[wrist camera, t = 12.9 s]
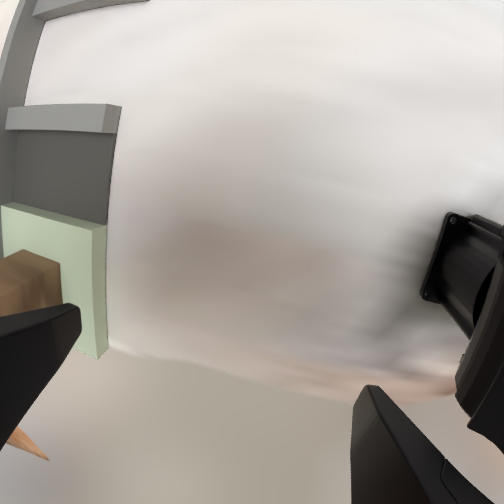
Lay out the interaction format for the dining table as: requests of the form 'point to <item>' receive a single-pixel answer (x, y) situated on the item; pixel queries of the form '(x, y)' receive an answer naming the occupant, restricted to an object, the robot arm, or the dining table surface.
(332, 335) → the dining table surface
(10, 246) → the tray
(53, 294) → the walnut block
